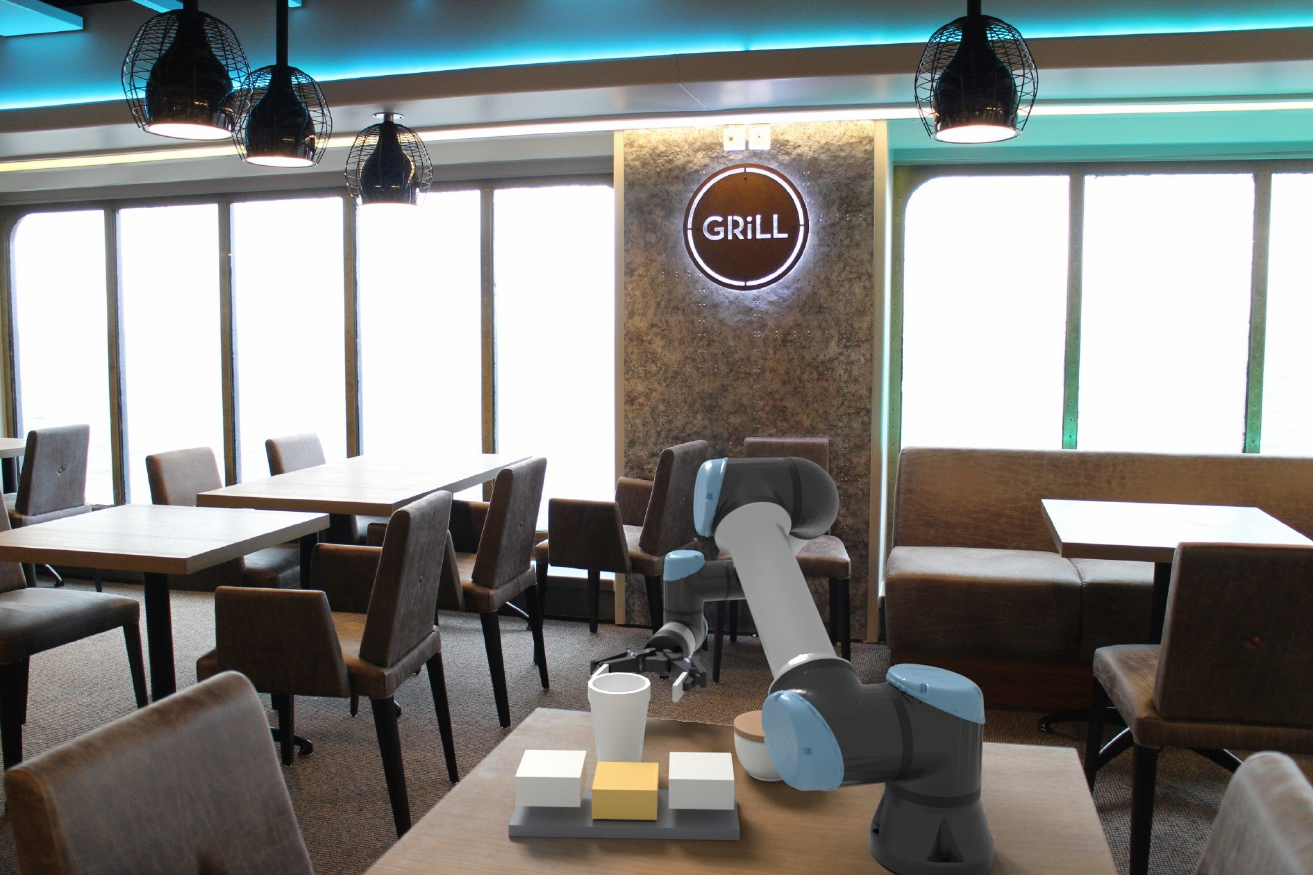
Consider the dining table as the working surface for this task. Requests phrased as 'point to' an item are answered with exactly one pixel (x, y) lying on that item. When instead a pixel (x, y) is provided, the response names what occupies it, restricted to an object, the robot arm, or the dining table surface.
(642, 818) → the amber key
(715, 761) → the key
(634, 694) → the foam cup
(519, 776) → the key
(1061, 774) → the dining table surface
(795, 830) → the dining table surface
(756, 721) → the lidded jar
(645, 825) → the keypad base
